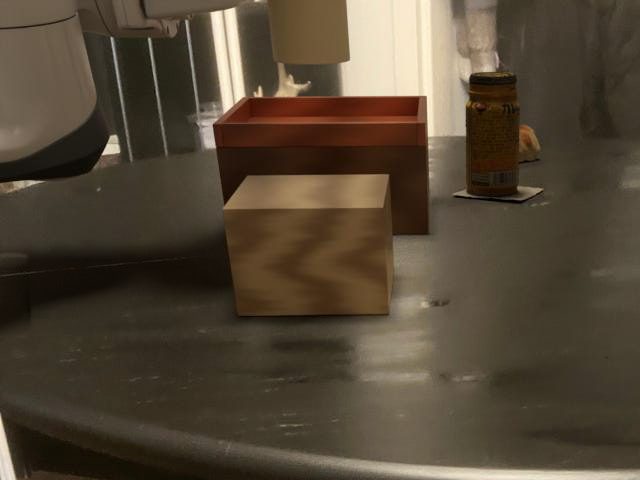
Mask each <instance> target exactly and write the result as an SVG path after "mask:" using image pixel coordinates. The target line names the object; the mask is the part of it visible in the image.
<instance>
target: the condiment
mask: <svg viewBox="0 0 640 480" xmlns="http://www.w3.org/2000/svg"><path fill="white" fill-rule="evenodd" d="M517 82H518V77H517V75H516V74H515V73H513V72H505V71H479V72H473V73H470V75H469V77H468V85H469V87H468V88H469V89H468V95H469V99H468V101H466V104H465V182H466V183H465V184H466V187H467V188H465V189H462V190H460V191H456V192H454V193H452V196H460V197H467V198H476V199H477V198H480V199H495V200H496V199H498V200H505V201H507V200H514V201H524V200H526V199H529V198H531V197H533V196H534V197H535V196H536V195H537V194H538V193H541V191H543V190H544V188H540V187H531V186H523V185H522V186H521V185H519V183H520V179H519V176H520V174H519V171H520V168H519V166H520V165H519V163H520V162H519V126H521V124H520V123H521V122H520V119H521V118H520V117H521V116H520V115H521V112H520V111H521V107H520V102H519V100H518V89H517Z"/></svg>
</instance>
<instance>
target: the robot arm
mask: <svg viewBox="0 0 640 480" xmlns="http://www.w3.org/2000/svg"><path fill="white" fill-rule="evenodd" d="M255 1H256V0H0V184H6V183H13V182H14V183H15V182H25V181H32V182H60V181H66V180H71V179H75V178H78V177H80V176H83V175H86V174H88V173H90V172H92V170H93V169H94V168H95V167H96V165H97V164H98V162H99V160H100V159H101V158H102V155H103V154H104V152H105V150H106V148H107V145H108V143H109V142H110V138H111V130H110V128H109V125H108V122H107V119H106V115H105V111H104V108H103V106H102V101H101V99H100V96H99V95H100V94H99V91H98V90H97V88H96V85H95V82H94V78H93V73H92V69H91V65H90V60H89V56H88V51H87V48H86V42H85V38H84V33H95V34H99V35H102V36H105V37H108V38H115V39H116V38H117V39H118V38H119V39H120V38H121V39H122V38H123V39H126V38H128V39H130V38H131V39H135V38H136V39H137V38H138V39H142V38H143V39H173V38H174V37H176V35H177V33H178V30H179V27H180V21H191V20H192V19H193V18H194V16H195V15H200V14H202V15H203V14H210V13H216V12H221V11H227V10H230V9H234V8H237V7H239V6H242V5H245V4H248V3H252V2H255Z"/></svg>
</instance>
